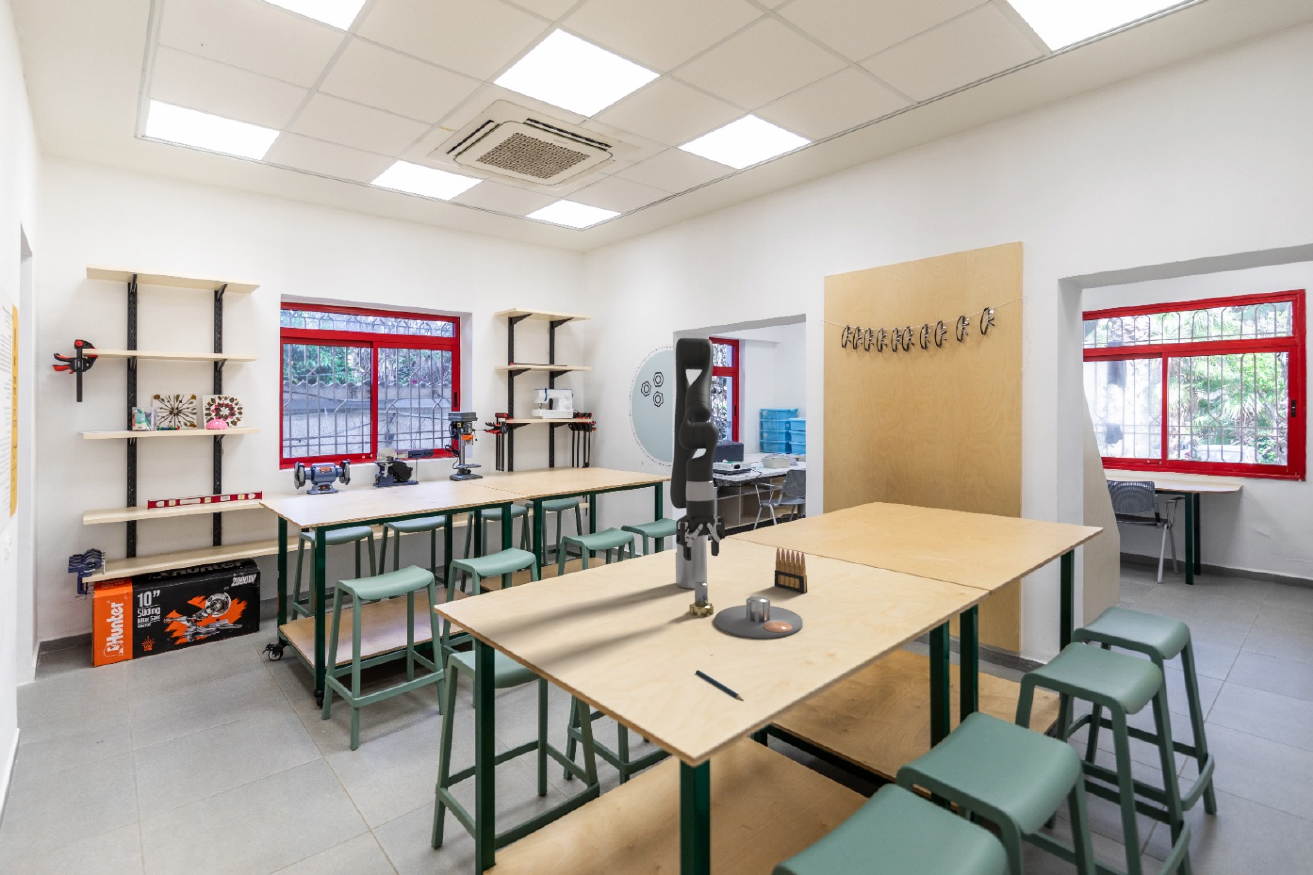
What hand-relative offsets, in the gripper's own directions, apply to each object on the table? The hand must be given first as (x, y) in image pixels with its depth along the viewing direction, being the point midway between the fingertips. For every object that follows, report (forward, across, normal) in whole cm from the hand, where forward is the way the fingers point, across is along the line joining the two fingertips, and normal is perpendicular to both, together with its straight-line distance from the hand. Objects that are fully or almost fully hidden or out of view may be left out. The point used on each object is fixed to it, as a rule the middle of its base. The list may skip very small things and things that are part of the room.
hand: (701, 558), depth 169 cm
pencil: (+16, +22, +38) cm, 46 cm away
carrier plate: (+15, -8, +14) cm, 22 cm away
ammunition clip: (+15, -34, -3) cm, 37 cm away
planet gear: (+15, 0, 0) cm, 15 cm away
